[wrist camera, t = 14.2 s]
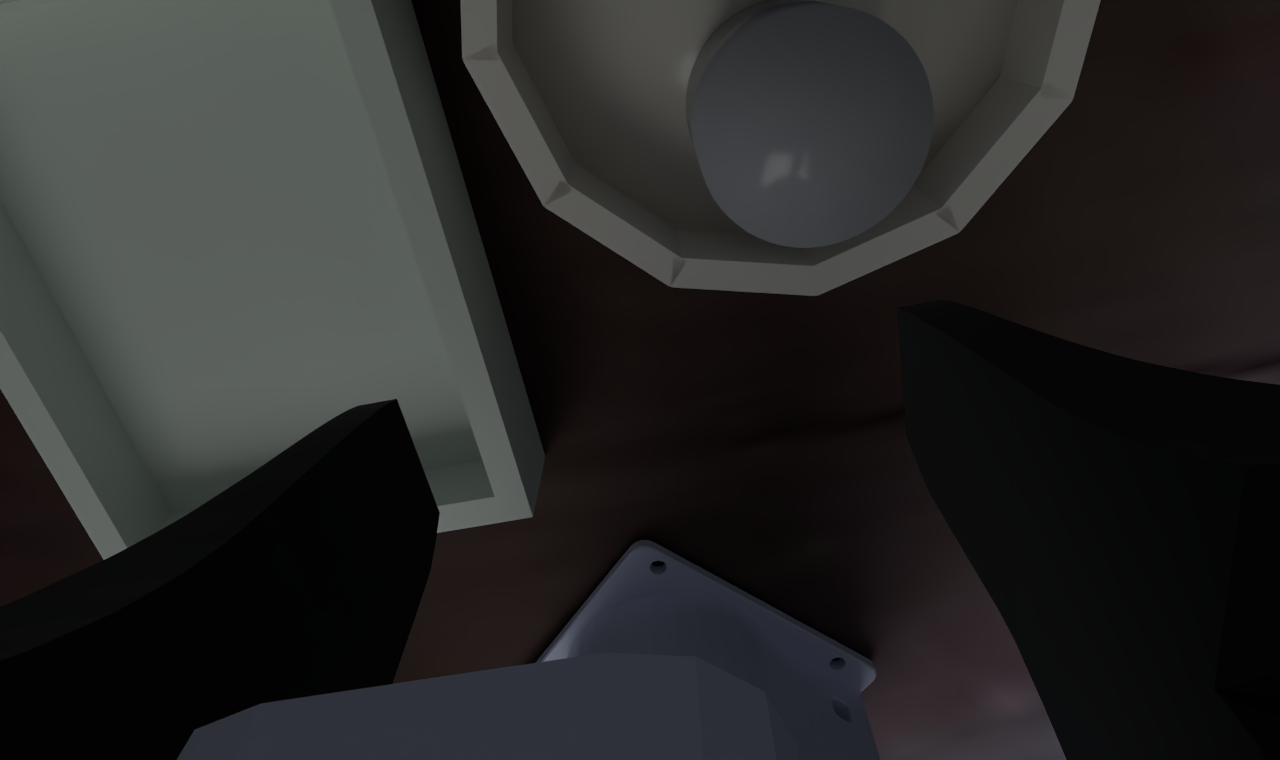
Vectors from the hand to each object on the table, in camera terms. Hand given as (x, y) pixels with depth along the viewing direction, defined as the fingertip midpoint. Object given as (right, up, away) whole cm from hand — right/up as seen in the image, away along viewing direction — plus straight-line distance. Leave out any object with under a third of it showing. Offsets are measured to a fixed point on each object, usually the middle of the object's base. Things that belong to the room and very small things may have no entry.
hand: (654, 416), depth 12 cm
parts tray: (-10, +4, +10) cm, 15 cm away
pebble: (+3, +7, +7) cm, 10 cm away
